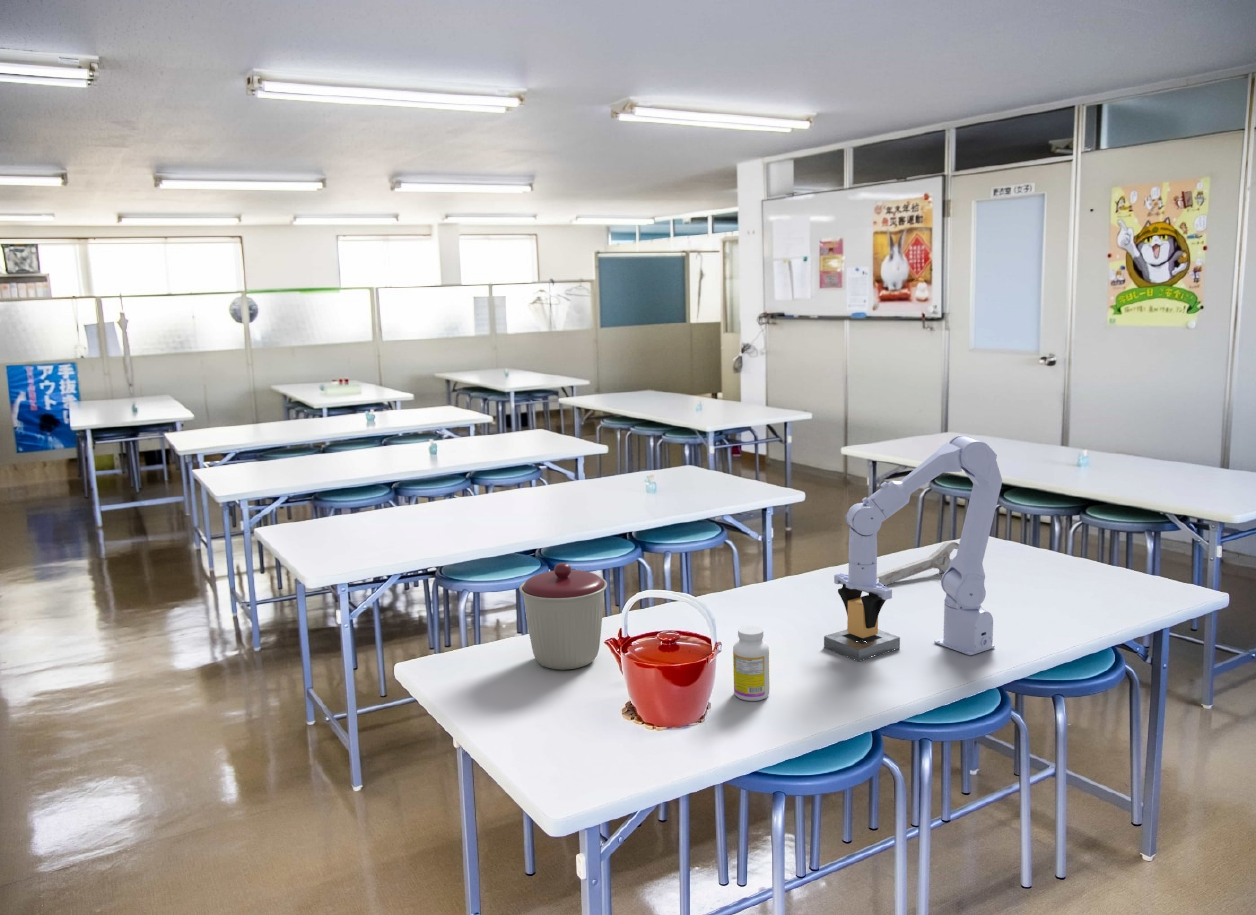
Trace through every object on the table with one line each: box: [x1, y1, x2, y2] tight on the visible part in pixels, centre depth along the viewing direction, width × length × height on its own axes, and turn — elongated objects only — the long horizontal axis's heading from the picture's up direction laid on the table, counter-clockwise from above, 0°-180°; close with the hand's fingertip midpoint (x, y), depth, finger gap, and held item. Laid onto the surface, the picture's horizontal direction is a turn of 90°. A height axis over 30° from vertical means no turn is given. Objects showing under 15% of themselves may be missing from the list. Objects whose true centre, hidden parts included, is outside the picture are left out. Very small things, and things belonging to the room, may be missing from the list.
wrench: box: [877, 540, 959, 586], centre depth 249 cm, size 8×2×30 cm
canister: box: [518, 562, 608, 671], centre depth 198 cm, size 18×18×21 cm
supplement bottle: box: [732, 625, 770, 702], centre depth 179 cm, size 7×7×13 cm
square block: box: [846, 596, 879, 638], centre depth 201 cm, size 4×4×7 cm
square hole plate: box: [823, 629, 901, 662], centre depth 201 cm, size 10×12×2 cm
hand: (861, 623), depth 201 cm, fingers closed on square block, 4 cm apart
